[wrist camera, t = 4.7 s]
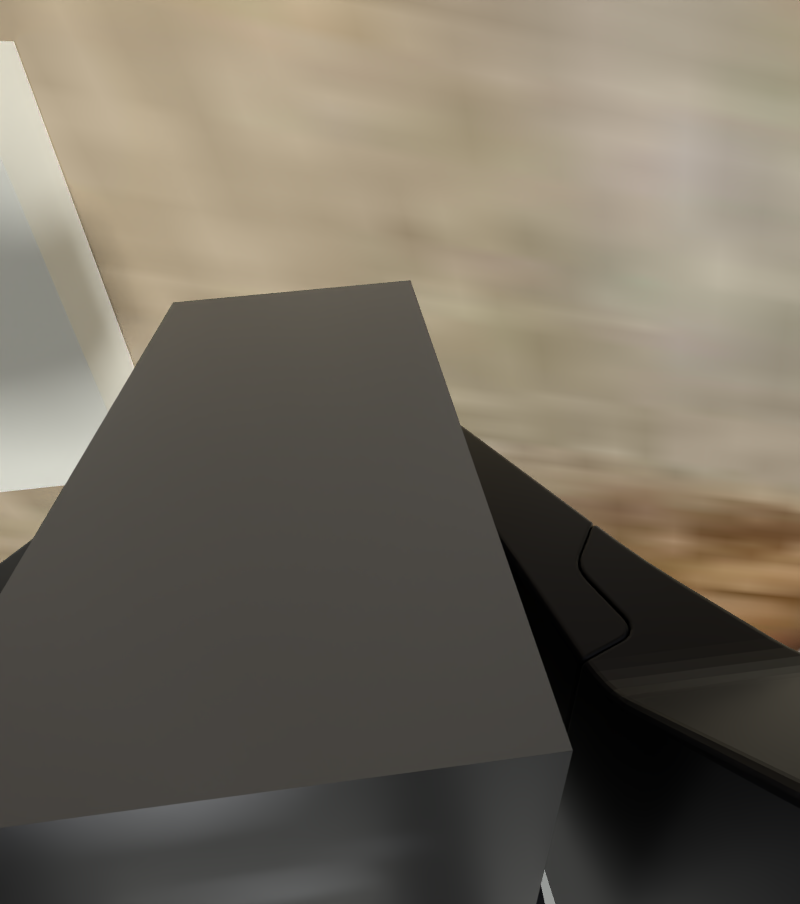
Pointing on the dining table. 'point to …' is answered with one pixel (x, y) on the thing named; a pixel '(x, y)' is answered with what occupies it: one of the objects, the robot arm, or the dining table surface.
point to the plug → (275, 634)
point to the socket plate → (47, 305)
